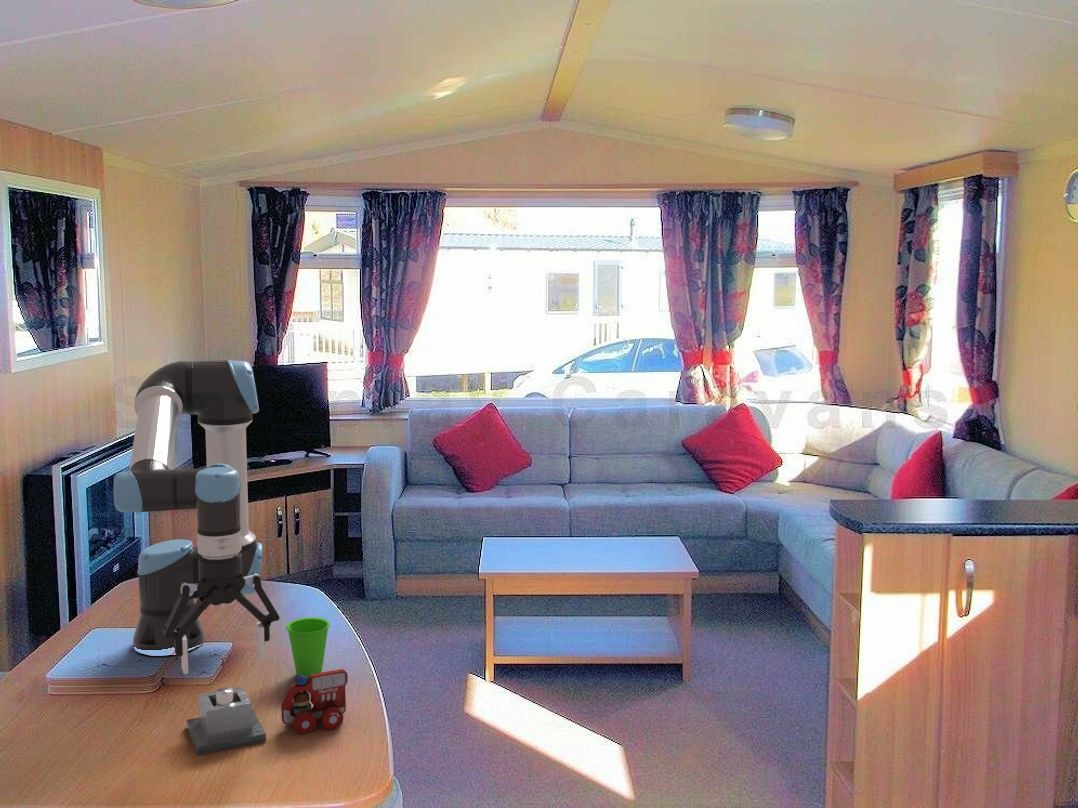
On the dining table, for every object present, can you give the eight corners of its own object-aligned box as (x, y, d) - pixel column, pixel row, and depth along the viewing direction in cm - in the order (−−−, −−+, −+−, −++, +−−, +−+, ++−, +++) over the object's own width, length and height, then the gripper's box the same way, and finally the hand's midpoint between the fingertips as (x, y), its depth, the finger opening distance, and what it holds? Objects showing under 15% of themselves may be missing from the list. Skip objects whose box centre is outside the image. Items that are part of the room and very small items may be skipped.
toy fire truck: (279, 722, 194) (277, 670, 193) (343, 711, 199) (343, 661, 197) (284, 738, 188) (283, 684, 186) (351, 727, 193) (350, 674, 191)
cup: (320, 685, 211) (319, 634, 209) (279, 680, 213) (278, 630, 211) (337, 668, 220) (336, 619, 218) (298, 664, 221) (297, 615, 220)
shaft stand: (186, 727, 191) (185, 684, 190) (251, 714, 197) (250, 673, 196) (197, 755, 181) (196, 710, 180) (266, 741, 187) (264, 697, 185)
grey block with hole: (199, 722, 190) (198, 694, 190) (243, 713, 194) (242, 686, 193) (207, 740, 183) (206, 711, 183) (252, 731, 187) (251, 702, 186)
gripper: (149, 569, 175) (154, 685, 178) (294, 550, 186) (296, 660, 190) (143, 556, 181) (149, 668, 185) (284, 539, 193) (286, 645, 196)
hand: (223, 664), depth 187 cm, fingers open, 13 cm apart
